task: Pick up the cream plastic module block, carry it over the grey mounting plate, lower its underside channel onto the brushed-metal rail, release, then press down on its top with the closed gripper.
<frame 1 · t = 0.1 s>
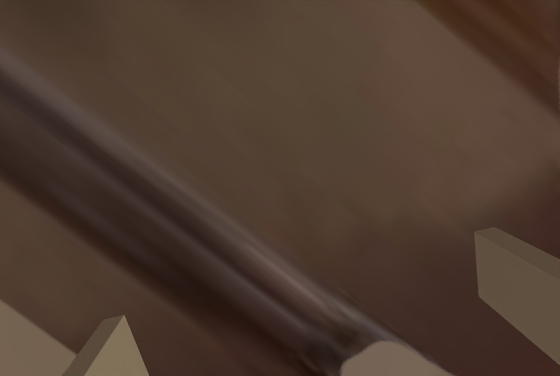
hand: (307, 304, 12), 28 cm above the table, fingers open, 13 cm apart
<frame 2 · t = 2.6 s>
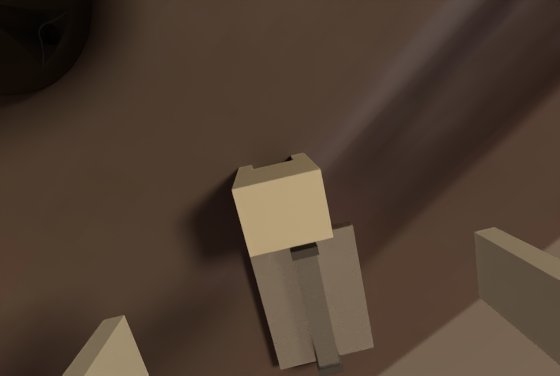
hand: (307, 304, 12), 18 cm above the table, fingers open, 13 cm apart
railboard: (312, 294, 32), on the table
module: (277, 186, 29), on the table
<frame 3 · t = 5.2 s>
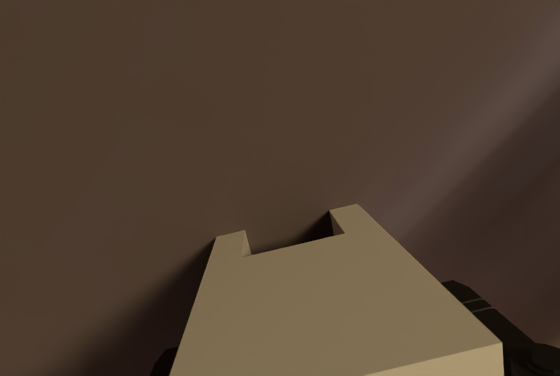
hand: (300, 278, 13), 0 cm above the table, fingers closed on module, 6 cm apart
module: (299, 272, 14), on the table, touching gripper
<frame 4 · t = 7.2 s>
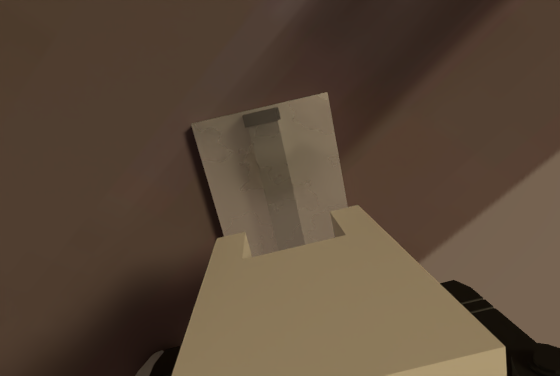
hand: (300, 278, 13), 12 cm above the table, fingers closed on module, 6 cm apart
bottle: (176, 367, 29), on the table
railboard: (279, 195, 25), on the table
module: (299, 274, 14), point 12 cm above the table, touching gripper
when the fingers open (2 cm above the table, at t = 8.9 s): module stays where it is, resting on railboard.
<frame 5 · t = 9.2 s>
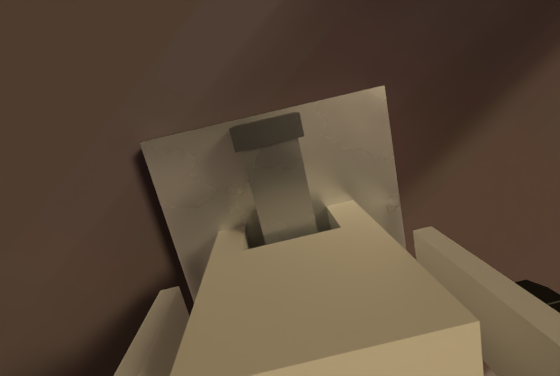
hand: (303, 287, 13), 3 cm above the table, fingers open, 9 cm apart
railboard: (295, 256, 15), on the table
module: (297, 266, 14), point 1 cm above the table, touching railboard
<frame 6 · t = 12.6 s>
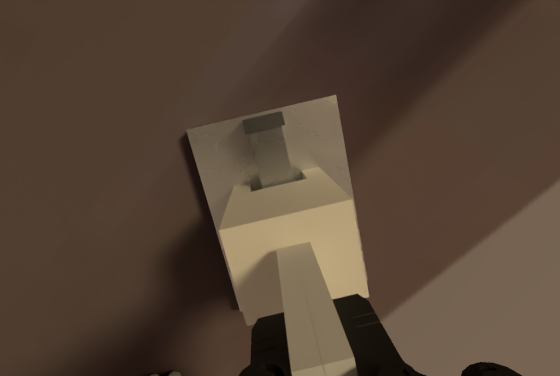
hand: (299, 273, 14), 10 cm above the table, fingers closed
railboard: (283, 206, 23), on the table
module: (283, 210, 22), point 1 cm above the table, touching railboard
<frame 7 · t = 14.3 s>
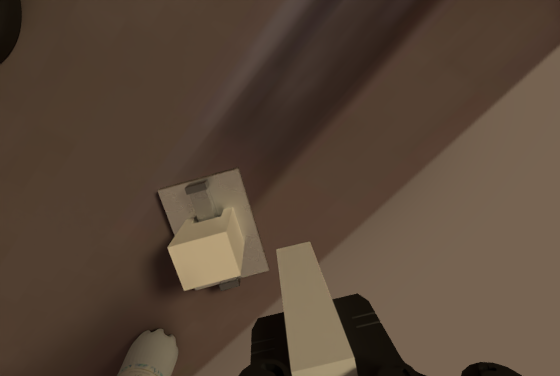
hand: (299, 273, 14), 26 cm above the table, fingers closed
bottle: (158, 342, 44), on the table
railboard: (217, 228, 40), on the table
module: (215, 231, 39), point 1 cm above the table, touching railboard
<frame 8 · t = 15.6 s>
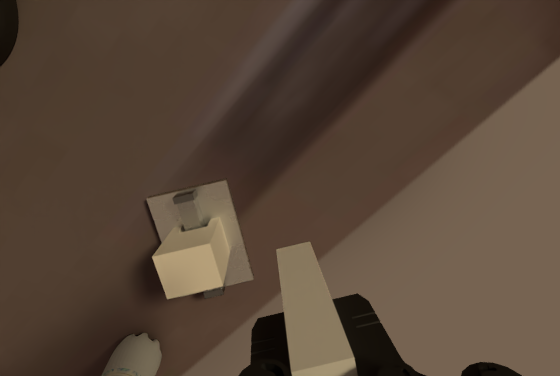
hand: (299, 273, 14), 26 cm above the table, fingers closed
bottle: (143, 345, 45), on the table
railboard: (203, 237, 41), on the table
module: (202, 240, 40), point 1 cm above the table, touching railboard
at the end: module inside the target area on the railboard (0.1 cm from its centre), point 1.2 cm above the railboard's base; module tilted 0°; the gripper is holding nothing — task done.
